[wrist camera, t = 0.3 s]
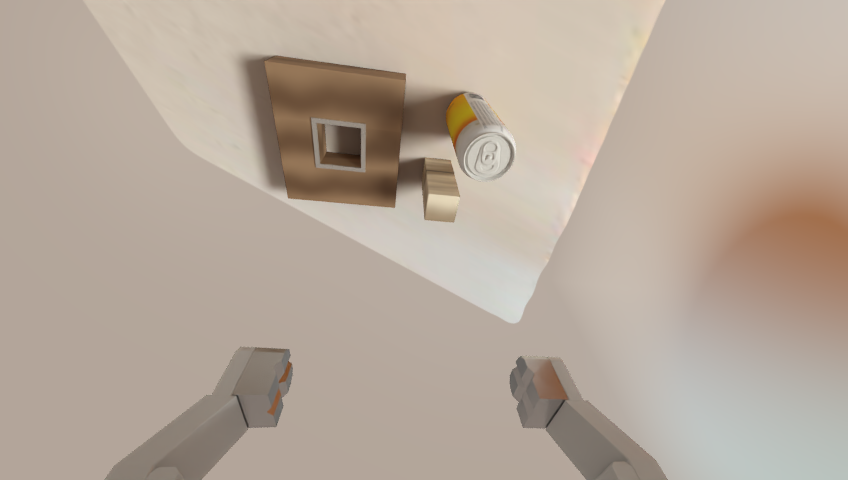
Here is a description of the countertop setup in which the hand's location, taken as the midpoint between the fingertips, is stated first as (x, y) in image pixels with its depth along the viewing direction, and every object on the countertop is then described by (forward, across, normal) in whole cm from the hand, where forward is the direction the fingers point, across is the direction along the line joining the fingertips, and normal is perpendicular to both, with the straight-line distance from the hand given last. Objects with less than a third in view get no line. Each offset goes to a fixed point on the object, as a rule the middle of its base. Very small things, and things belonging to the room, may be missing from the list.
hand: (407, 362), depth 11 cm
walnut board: (+39, +8, +2) cm, 40 cm away
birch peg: (+39, -6, +6) cm, 40 cm away
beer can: (+38, -9, -3) cm, 39 cm away
